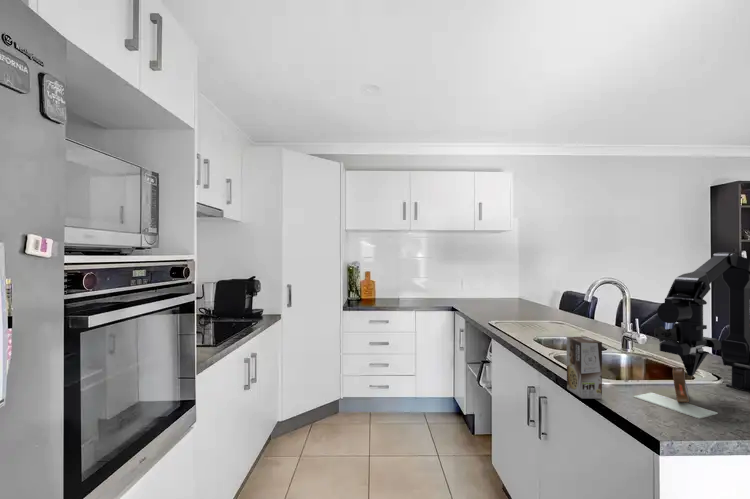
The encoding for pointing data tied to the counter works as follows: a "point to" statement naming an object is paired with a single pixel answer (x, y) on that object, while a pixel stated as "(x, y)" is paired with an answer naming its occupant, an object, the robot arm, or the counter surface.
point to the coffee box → (584, 367)
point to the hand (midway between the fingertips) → (690, 375)
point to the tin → (680, 384)
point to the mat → (676, 405)
